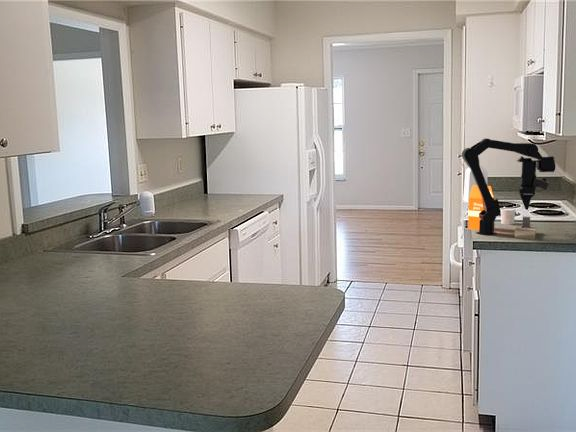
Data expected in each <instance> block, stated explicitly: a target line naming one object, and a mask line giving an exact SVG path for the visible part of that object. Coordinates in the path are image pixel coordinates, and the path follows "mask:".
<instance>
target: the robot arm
mask: <svg viewBox="0 0 576 432" xmlns="http://www.w3.org/2000/svg"><path fill="white" fill-rule="evenodd" d="M487 149H495V150H501V151H507V152H513V153H517V154H518V155H519V154H520V157H519V158H518V159H516V162H517V163H521V175H520V176H521V177H520V178H521V181H520V183H521V184H520V188H519V193H518V195H519V196H520V199H521V201H522V203H523V207H524V209H525V210H526V211H527V210H529V208H530V205H531V204H530V203H531V201H532V198H533V197H534V196H535V195H536V191H537V187H538V188H540V189H543V190H544V191H548V188H549V185H550V184H551V183H550V181H548V180H547V178H545V177H542V178H538V177H537V174H536V173H537V171H538V172H539V173H554V172H555V171H556V161H555V156H551V155H549V156H542V154H541V153H540V151H539V147H538V146H537V145H536V144H535V143H532V142H520V143H519V142H518V143H517V142H516V143H514V142H509V141H508V142H507V141H501V140H496V139H490V138H487V137H486V138H483V139H481V140H480V141H479V142H477V143H475V144H474V145H472V146H471V147H466V148H464V149H463V150H462V152H461V158H462V159H463V161H464V162H465V164H466V166H467V168H468V167H469V168H470V169H471V172H472V174H473V177H474V179H475V182H476V184H477V187H478V189H479V192H480V194H481V197H482V202H483V208H484V209H483V210H482V211H481V212H480V213H479V217H480V218H481V219H480V224H479V230H478V231H476V232H475V234H480V235H484V236H490V235H491V236H492V235H496V234H498V233H497V232H496V231H495V221H496V218H497V217H499V216H500V215H501V209H502V206H501V205H500V203H499V199H498V198H497V197H494V196H493V197H494V198H493V197H492V196H491V193H490V191H489V189H488V186H489V185H488V183H487V184H486V181H485V179H484V176H483V174H482V171H481V169H480V165H481V164H480V158H479V156H480V155H481V154H482V153H484V152H485V151H486V150H487ZM521 155H522V156H521ZM524 156H525V157H524ZM533 159H534V160H533ZM479 164H480V165H479Z"/></svg>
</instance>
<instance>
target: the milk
mask: <svg viewBox="0 0 576 432" xmlns="http://www.w3.org/2000/svg"><path fill="white" fill-rule="evenodd" d="M479 165H480V169H481V171H482V174H483V176H484V179H485V181H486V184H487V185H488V171H487V170H486V169H485V168H484V167H483V166H482V165H481V164H480V163H479ZM473 185H477V184H476V182H475V179H474V177H473V174H472V172H471V169H470V168H469V167H468V166H467V168H466V169H465V172H464V187H463V196H462V197H463V198H462V201H463V202H465V203H467V204H469V196H470V193H471V189H472V186H473Z"/></svg>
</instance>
